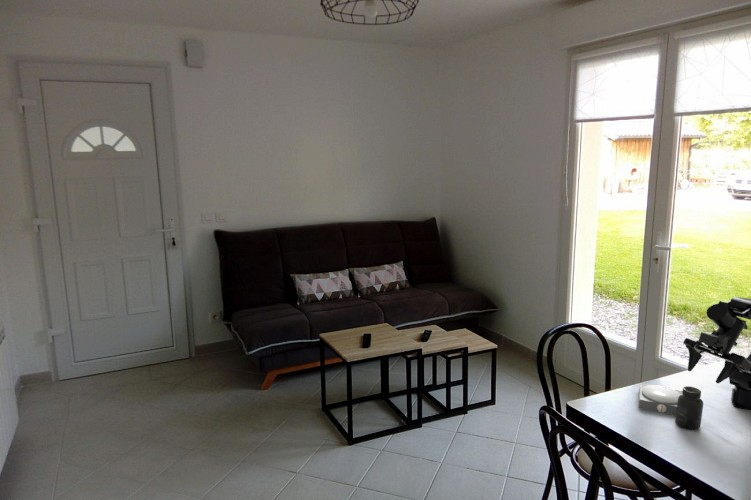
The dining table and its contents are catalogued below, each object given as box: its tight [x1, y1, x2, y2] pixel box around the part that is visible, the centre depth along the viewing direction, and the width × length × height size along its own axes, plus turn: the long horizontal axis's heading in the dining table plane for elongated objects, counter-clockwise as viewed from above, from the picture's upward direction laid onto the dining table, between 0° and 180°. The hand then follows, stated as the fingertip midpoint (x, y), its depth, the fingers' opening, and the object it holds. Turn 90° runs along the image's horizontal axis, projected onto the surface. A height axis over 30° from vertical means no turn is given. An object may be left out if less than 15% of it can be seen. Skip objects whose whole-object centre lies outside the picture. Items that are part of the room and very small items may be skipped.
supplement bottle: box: [674, 385, 704, 431], centre depth 160 cm, size 7×7×12 cm
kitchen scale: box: [638, 383, 683, 416], centre depth 174 cm, size 13×14×4 cm
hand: (702, 376), depth 162 cm, fingers open, 9 cm apart
